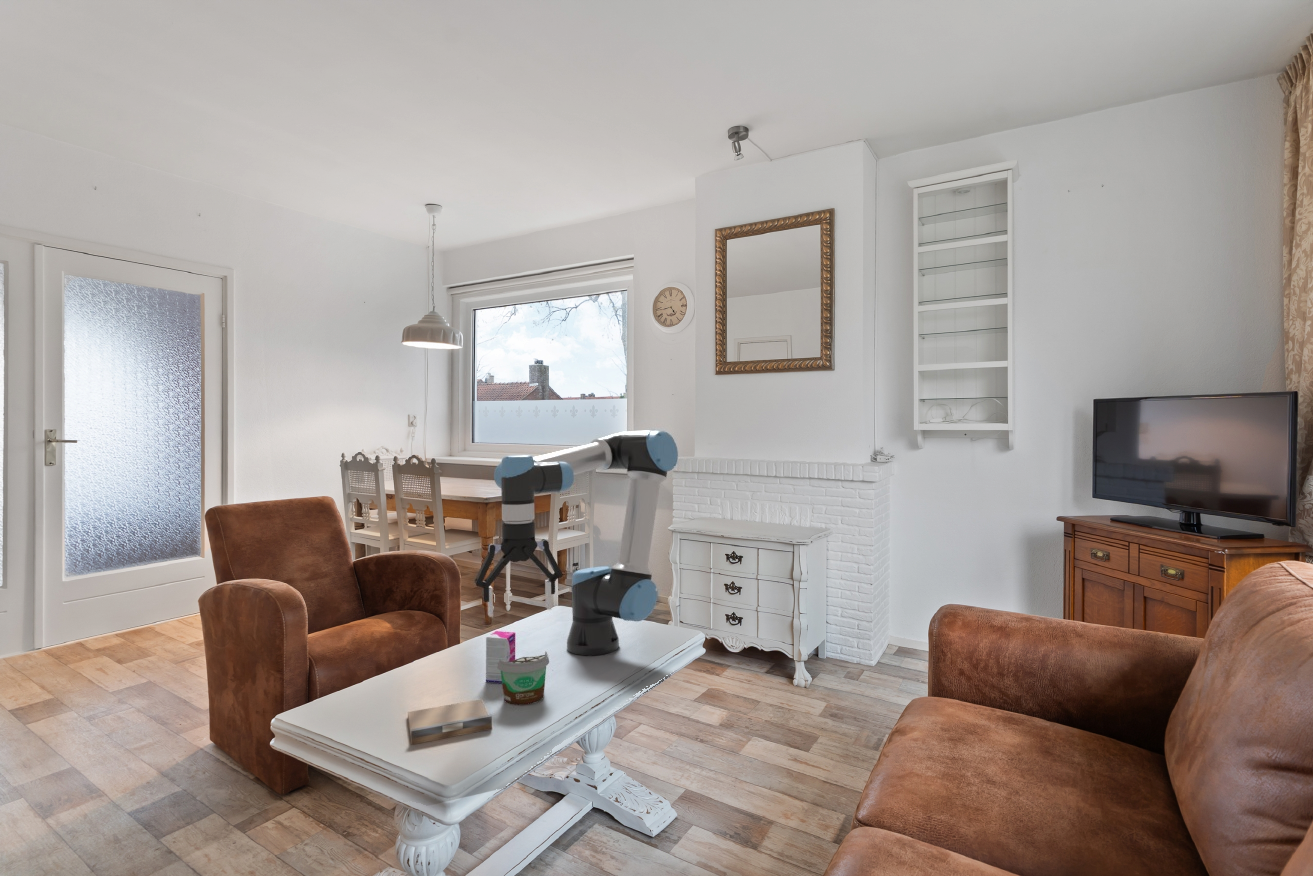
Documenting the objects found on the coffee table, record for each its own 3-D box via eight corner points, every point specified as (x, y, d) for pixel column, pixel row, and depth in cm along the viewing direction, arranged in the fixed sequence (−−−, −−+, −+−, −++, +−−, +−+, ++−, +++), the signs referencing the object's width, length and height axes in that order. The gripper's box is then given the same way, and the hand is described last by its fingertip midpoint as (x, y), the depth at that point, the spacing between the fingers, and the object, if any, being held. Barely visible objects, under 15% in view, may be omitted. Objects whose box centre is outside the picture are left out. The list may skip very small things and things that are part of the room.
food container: (504, 712, 146) (503, 667, 146) (497, 702, 151) (497, 659, 151) (556, 700, 151) (556, 658, 151) (548, 691, 157) (547, 650, 157)
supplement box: (507, 684, 162) (506, 638, 162) (485, 682, 163) (484, 637, 163) (516, 675, 168) (515, 631, 168) (495, 674, 169) (494, 630, 169)
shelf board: (481, 704, 150) (481, 692, 150) (492, 729, 137) (491, 716, 137) (407, 717, 143) (407, 705, 143) (411, 745, 130) (411, 731, 130)
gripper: (565, 516, 160) (567, 601, 160) (461, 523, 150) (462, 614, 150) (574, 519, 153) (575, 609, 153) (465, 527, 143) (467, 623, 143)
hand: (520, 612), depth 151 cm, fingers open, 13 cm apart
